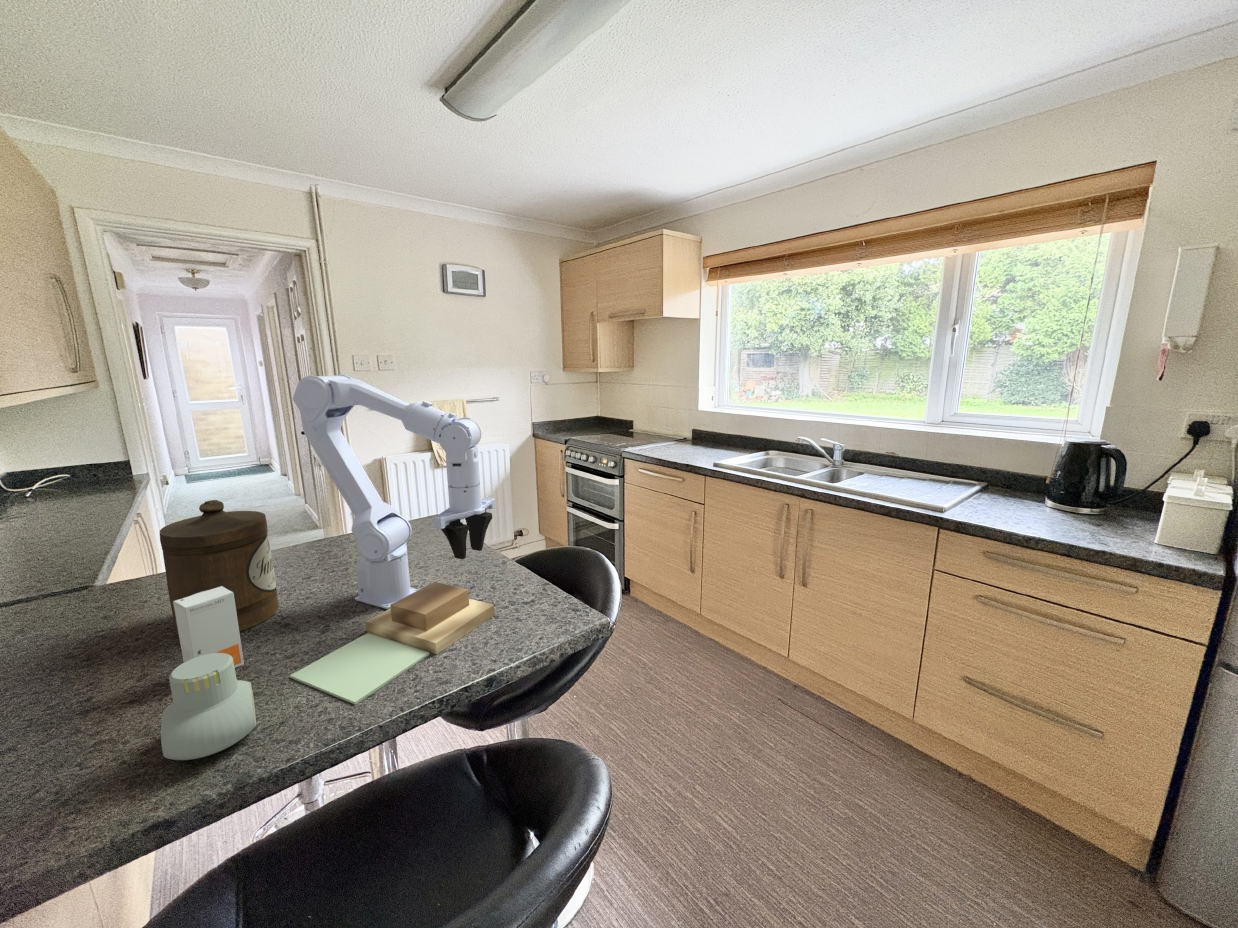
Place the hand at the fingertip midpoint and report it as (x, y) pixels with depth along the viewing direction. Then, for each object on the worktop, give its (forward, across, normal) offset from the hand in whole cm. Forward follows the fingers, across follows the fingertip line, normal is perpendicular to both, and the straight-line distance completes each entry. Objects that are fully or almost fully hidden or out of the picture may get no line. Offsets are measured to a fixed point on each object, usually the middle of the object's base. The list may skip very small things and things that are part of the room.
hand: (468, 553), depth 95 cm
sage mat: (+9, -24, 0) cm, 26 cm away
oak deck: (+9, -10, 0) cm, 14 cm away
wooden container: (+10, -24, +35) cm, 44 cm away
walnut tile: (+7, -10, 0) cm, 12 cm away
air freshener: (+10, -42, +3) cm, 43 cm away
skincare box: (+10, -34, +19) cm, 40 cm away
